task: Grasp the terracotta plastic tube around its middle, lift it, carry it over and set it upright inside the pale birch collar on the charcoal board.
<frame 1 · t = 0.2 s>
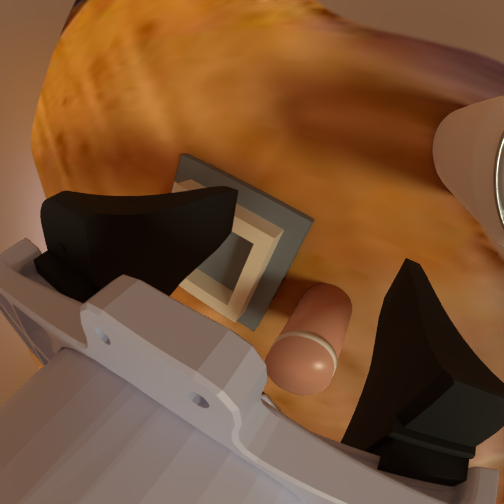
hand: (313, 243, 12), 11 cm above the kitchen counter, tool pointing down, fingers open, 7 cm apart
can: (472, 154, 16), on the kitchen counter
tube: (326, 307, 25), on the kitchen counter
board: (223, 244, 27), on the kitchen counter
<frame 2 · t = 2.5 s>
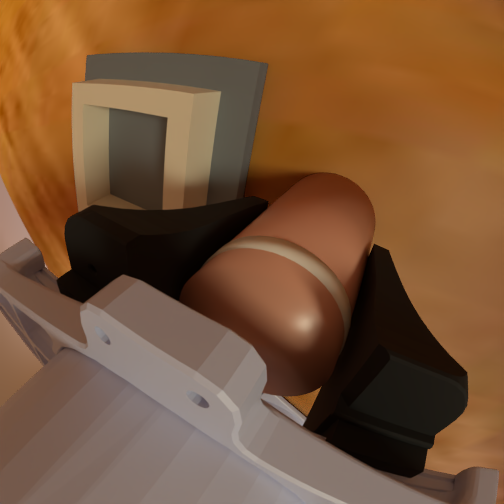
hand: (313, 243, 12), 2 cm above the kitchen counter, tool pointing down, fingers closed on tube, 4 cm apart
tube: (328, 219, 14), on the kitchen counter, touching gripper
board: (153, 155, 16), on the kitchen counter
when the fingers open (4 cm above the kitchen counter, at t = 7.9 s): tube drops 1 cm, resting on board.
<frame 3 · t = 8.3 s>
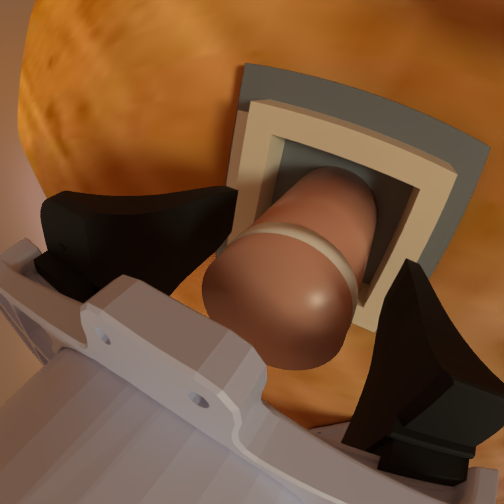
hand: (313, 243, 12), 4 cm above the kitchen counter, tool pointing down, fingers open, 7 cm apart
tube: (333, 210, 15), point 1 cm above the kitchen counter, touching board
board: (336, 205, 15), on the kitchen counter
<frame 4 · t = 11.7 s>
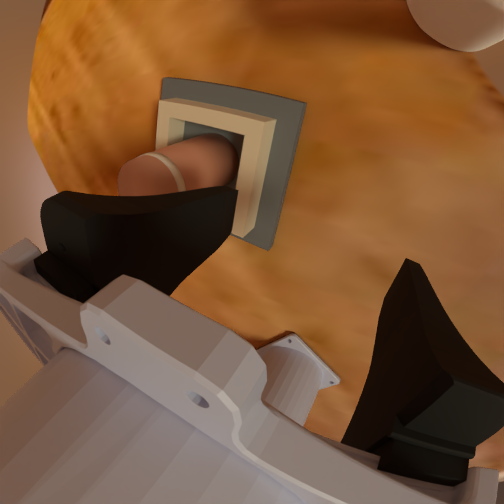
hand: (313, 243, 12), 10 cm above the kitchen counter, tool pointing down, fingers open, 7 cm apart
can: (452, 8, 11), on the kitchen counter
tube: (213, 159, 23), point 1 cm above the kitchen counter, touching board
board: (219, 157, 24), on the kitchen counter
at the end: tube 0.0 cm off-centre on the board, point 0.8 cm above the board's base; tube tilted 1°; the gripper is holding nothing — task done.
